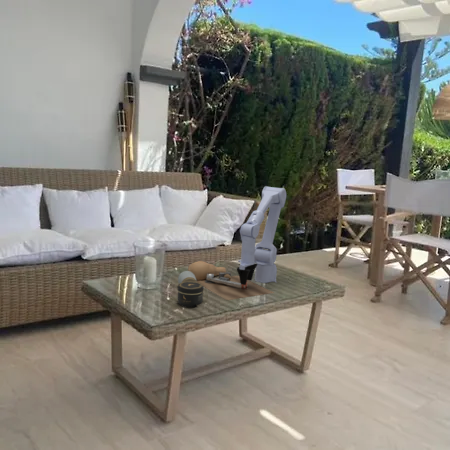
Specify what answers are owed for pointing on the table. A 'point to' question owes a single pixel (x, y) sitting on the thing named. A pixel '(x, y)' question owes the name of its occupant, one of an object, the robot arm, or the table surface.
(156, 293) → the table surface
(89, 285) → the table surface
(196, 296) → the jar
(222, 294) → the board
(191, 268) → the squash
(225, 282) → the lever
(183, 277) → the ceramic mug
